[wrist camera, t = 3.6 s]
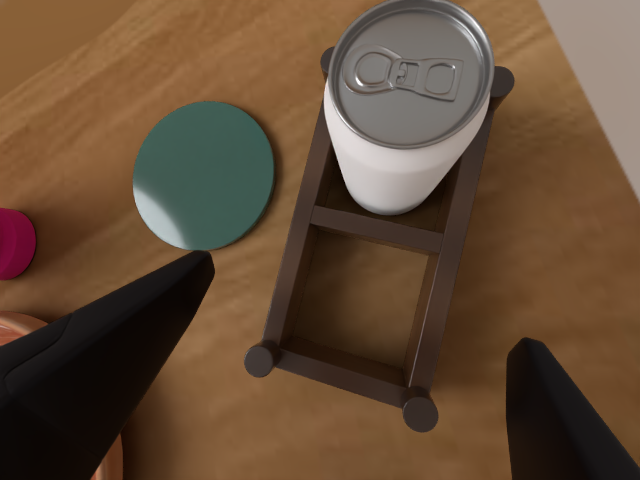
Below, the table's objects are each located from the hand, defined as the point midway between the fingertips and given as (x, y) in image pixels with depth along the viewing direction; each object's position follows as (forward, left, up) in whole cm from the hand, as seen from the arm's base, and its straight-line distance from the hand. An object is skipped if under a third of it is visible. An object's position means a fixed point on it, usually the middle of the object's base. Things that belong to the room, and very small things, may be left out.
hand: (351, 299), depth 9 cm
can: (+3, +7, -14) cm, 16 cm away
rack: (+1, +3, -13) cm, 14 cm away
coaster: (-12, +9, -13) cm, 20 cm away
